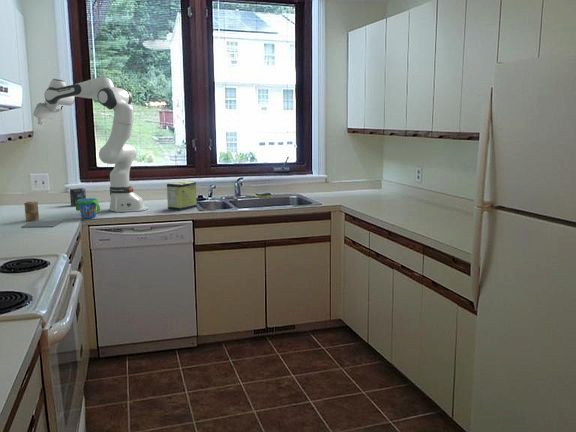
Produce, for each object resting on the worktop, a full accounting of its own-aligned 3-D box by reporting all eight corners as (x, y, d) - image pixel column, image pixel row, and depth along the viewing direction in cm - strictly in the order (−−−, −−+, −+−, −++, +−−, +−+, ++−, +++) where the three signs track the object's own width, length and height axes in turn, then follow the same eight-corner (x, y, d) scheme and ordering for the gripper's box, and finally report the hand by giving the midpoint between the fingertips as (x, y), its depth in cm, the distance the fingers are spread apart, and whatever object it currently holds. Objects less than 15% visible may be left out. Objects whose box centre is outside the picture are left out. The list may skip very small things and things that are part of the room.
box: (74, 206, 350) (73, 189, 348) (70, 205, 354) (69, 189, 352) (86, 205, 355) (85, 188, 353) (82, 204, 359) (81, 187, 357)
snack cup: (71, 217, 313) (69, 199, 312) (86, 214, 322) (85, 197, 321) (90, 220, 306) (89, 202, 304) (105, 217, 315) (104, 199, 313)
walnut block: (39, 219, 309) (37, 201, 307) (35, 221, 304) (33, 203, 302) (29, 219, 309) (28, 201, 307) (26, 221, 304) (24, 203, 302)
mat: (62, 221, 302) (62, 220, 302) (53, 227, 288) (53, 226, 288) (32, 222, 301) (32, 221, 301) (21, 227, 288) (21, 226, 287)
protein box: (197, 206, 348) (196, 181, 346) (180, 210, 335) (179, 184, 332) (184, 205, 354) (183, 180, 351) (167, 209, 340) (166, 183, 337)
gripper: (40, 104, 338) (34, 125, 341) (68, 107, 356) (62, 127, 359) (34, 100, 340) (28, 121, 344) (61, 103, 358) (55, 123, 362)
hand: (45, 124), depth 352 cm, fingers open, 8 cm apart
